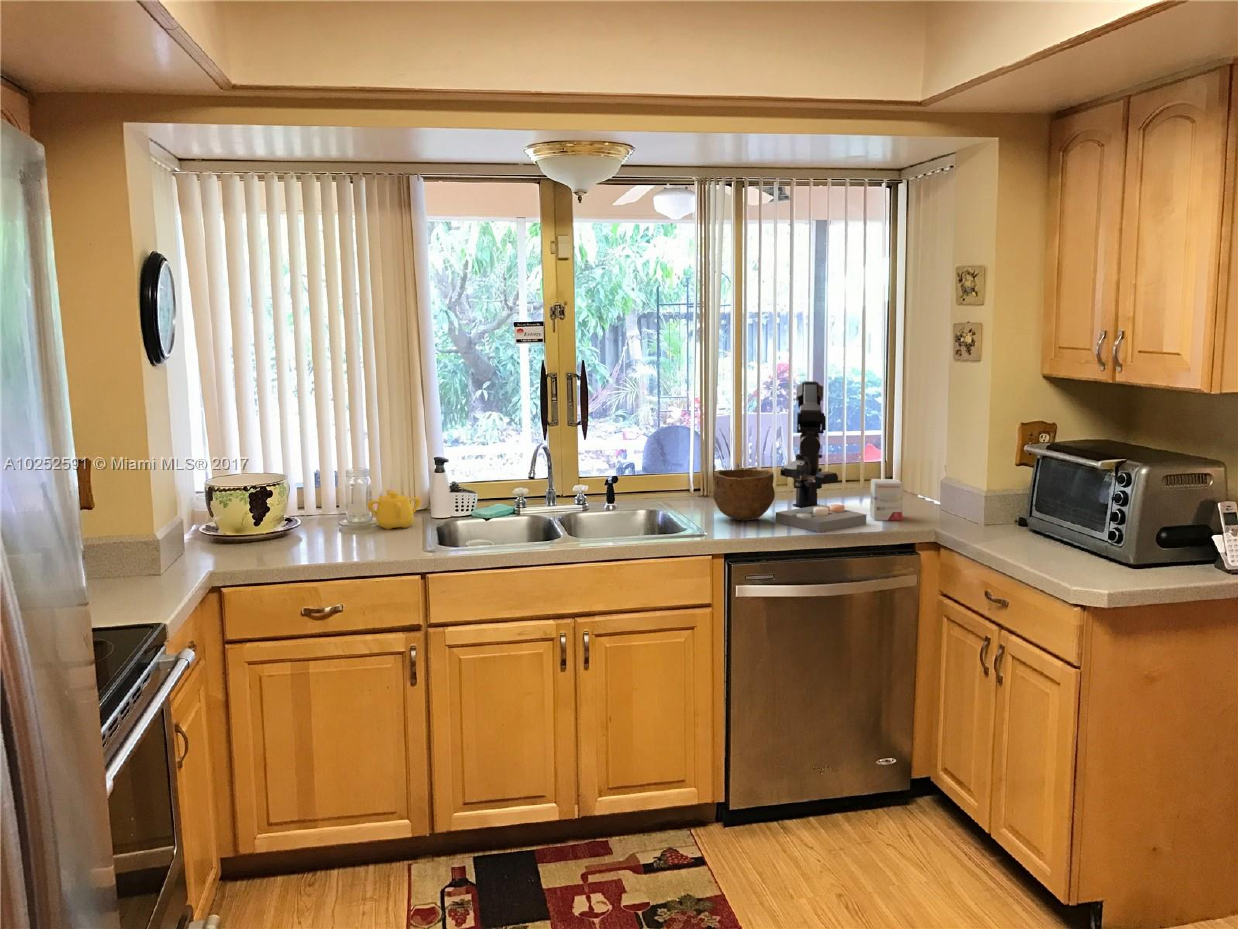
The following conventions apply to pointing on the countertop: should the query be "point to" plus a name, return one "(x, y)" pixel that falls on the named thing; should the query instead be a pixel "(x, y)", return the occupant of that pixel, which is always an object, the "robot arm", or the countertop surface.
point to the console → (820, 519)
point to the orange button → (837, 508)
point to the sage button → (804, 515)
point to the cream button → (820, 511)
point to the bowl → (743, 492)
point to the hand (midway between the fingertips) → (807, 502)
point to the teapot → (394, 510)
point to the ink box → (886, 499)
